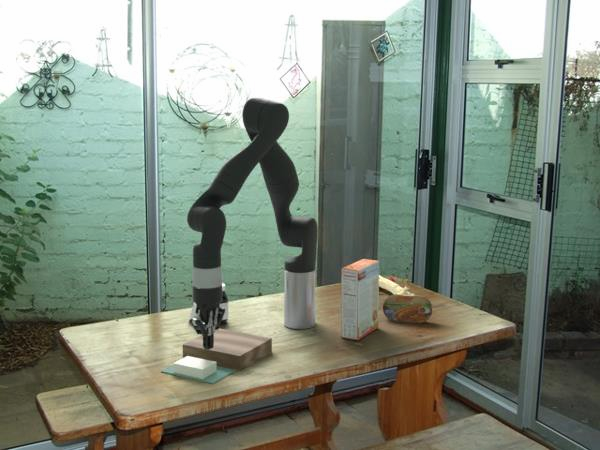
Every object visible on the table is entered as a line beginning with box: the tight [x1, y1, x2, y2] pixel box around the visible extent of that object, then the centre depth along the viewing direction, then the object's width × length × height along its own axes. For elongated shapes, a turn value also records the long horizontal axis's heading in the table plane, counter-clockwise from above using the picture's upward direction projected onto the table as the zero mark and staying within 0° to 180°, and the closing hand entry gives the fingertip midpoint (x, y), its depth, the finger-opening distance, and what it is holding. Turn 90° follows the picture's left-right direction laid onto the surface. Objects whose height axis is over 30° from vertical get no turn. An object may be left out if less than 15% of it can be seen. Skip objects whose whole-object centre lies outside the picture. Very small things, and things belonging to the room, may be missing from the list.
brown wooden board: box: [182, 327, 273, 372], centre depth 211 cm, size 16×18×4 cm
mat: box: [160, 364, 237, 385], centre depth 200 cm, size 10×16×1 cm, turn 62°
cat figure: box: [379, 274, 416, 295], centre depth 273 cm, size 10×9×25 cm
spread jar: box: [188, 282, 230, 326], centre depth 240 cm, size 12×11×12 cm
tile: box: [172, 356, 217, 379], centre depth 199 cm, size 6×9×2 cm, turn 62°
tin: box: [382, 294, 433, 324], centre depth 242 cm, size 15×3×8 cm, turn 76°
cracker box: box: [340, 258, 380, 341], centre depth 229 cm, size 14×6×21 cm, turn 149°
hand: (208, 348), depth 203 cm, fingers closed
